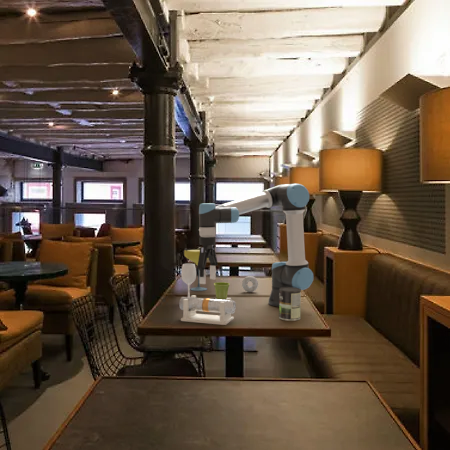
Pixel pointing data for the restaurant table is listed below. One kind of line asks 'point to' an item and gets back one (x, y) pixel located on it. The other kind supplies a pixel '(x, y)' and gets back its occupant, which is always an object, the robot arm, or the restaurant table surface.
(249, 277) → the donut
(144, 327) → the restaurant table surface
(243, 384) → the restaurant table surface
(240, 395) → the restaurant table surface
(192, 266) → the wineglass
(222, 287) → the plant pot
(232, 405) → the restaurant table surface
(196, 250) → the cocktail glass
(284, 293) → the coffee can
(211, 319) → the collar stand
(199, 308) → the air tube
